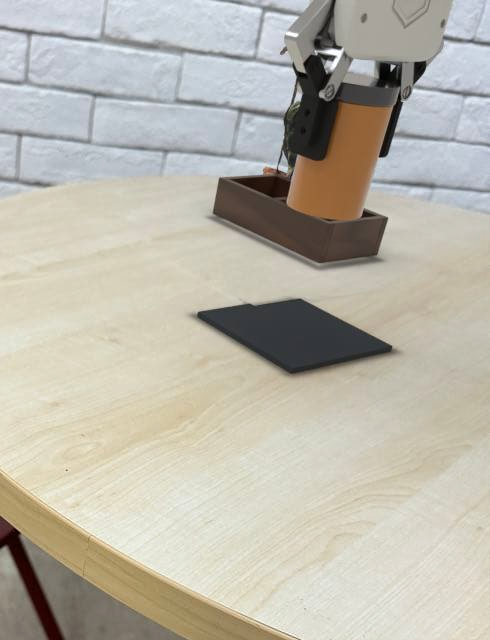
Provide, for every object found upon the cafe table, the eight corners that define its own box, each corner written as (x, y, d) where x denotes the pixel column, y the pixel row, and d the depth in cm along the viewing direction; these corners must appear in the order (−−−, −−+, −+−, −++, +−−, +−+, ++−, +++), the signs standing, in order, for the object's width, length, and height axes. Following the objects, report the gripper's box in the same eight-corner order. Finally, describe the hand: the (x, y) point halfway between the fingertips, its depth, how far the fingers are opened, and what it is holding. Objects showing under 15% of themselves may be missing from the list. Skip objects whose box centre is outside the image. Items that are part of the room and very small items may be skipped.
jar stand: (268, 212, 105) (276, 173, 102) (376, 260, 94) (388, 217, 91) (211, 218, 100) (218, 177, 98) (317, 268, 89) (329, 223, 86)
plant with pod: (321, 209, 109) (368, 29, 97) (235, 193, 111) (270, 15, 99) (328, 195, 115) (373, 24, 103) (246, 180, 117) (281, 11, 105)
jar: (322, 195, 71) (355, 72, 66) (379, 218, 67) (418, 88, 62) (268, 199, 68) (298, 70, 63) (324, 223, 64) (360, 87, 59)
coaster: (294, 300, 81) (295, 295, 80) (391, 351, 73) (393, 346, 73) (196, 316, 75) (197, 311, 74) (290, 373, 67) (292, 368, 67)
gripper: (370, -163, 48) (291, 173, 59) (545, -124, 56) (448, 163, 67) (279, -165, 53) (222, 146, 63) (453, -129, 61) (376, 140, 72)
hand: (339, 152), depth 65 cm, fingers closed on jar, 6 cm apart
